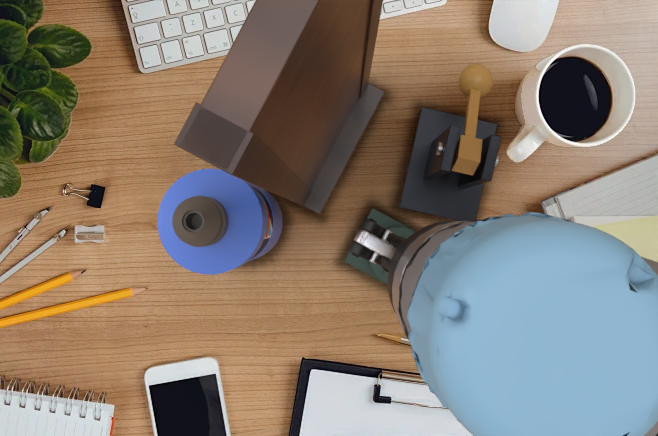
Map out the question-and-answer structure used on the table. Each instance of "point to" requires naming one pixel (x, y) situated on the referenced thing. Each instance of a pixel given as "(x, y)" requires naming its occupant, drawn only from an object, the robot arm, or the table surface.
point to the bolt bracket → (446, 167)
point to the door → (290, 97)
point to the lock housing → (366, 265)
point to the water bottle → (217, 221)
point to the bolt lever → (471, 117)
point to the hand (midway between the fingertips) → (415, 263)
